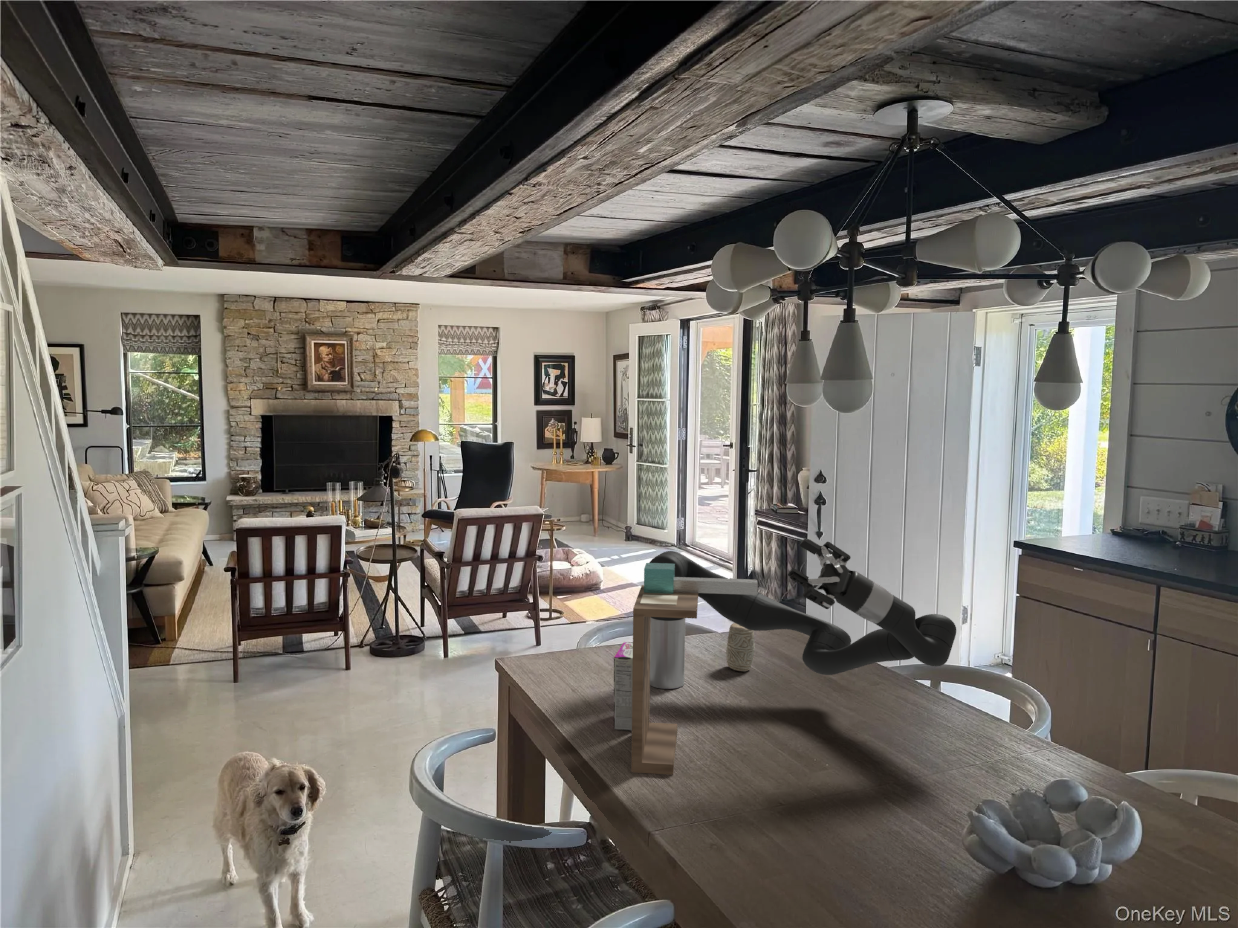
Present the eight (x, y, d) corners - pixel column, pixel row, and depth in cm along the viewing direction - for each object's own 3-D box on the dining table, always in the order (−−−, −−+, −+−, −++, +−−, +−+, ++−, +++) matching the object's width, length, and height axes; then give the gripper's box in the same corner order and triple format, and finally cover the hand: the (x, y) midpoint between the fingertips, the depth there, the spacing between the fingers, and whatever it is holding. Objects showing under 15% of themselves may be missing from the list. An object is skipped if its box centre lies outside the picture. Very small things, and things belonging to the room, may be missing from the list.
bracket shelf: (640, 730, 179) (641, 583, 176) (695, 733, 177) (698, 585, 175) (631, 772, 159) (633, 607, 156) (694, 775, 158) (697, 609, 155)
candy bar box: (622, 711, 190) (623, 641, 189) (643, 713, 189) (644, 642, 188) (612, 730, 179) (612, 656, 178) (634, 732, 178) (635, 657, 177)
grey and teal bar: (646, 586, 175) (646, 562, 175) (756, 589, 173) (756, 566, 172) (643, 592, 169) (644, 568, 169) (757, 596, 167) (758, 572, 166)
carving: (750, 674, 216) (751, 629, 216) (722, 670, 220) (723, 625, 219) (757, 667, 222) (758, 623, 221) (730, 663, 225) (731, 620, 224)
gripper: (846, 631, 168) (777, 589, 169) (863, 580, 178) (797, 541, 178) (865, 615, 163) (794, 572, 164) (882, 563, 172) (814, 523, 173)
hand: (796, 556), depth 171 cm, fingers open, 8 cm apart
